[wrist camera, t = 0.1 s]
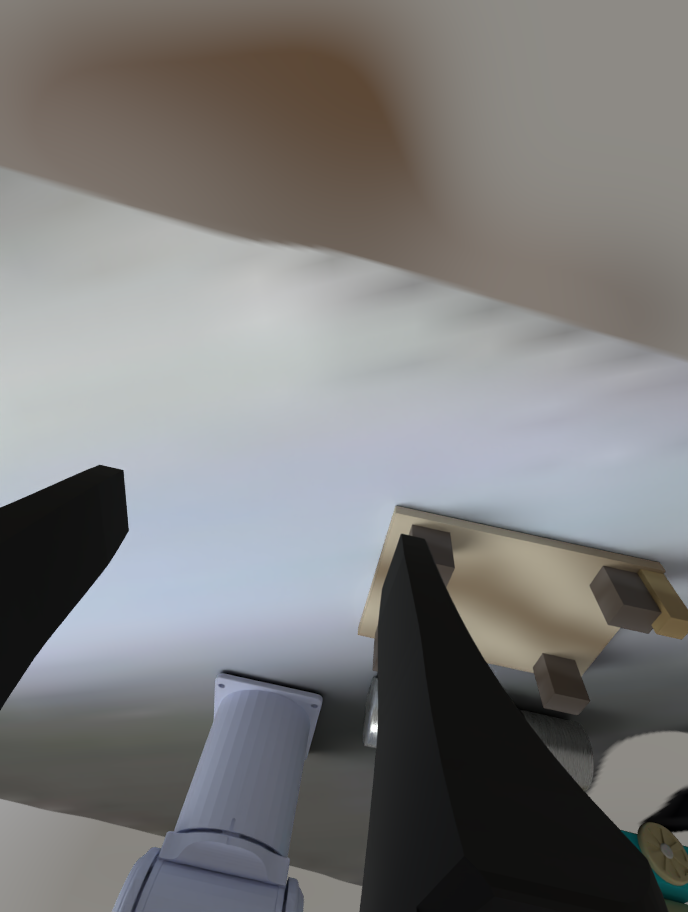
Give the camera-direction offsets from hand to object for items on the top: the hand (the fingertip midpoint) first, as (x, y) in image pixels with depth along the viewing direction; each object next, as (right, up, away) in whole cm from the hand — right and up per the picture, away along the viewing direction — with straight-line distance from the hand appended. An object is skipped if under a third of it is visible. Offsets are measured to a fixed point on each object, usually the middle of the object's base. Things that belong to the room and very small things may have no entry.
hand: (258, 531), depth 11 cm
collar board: (+11, -6, +14) cm, 19 cm away
